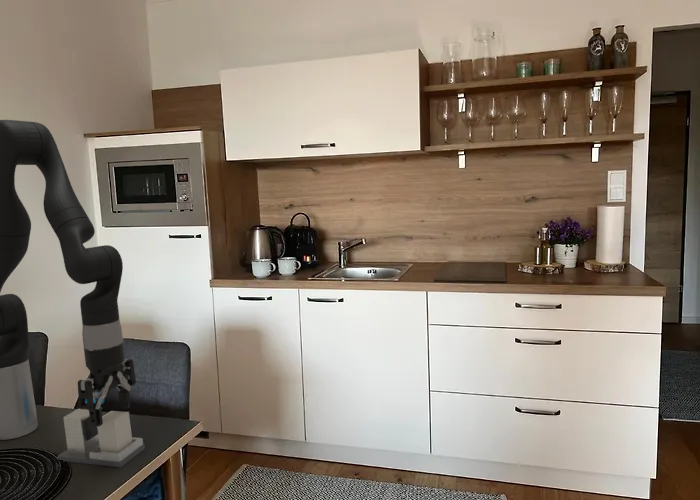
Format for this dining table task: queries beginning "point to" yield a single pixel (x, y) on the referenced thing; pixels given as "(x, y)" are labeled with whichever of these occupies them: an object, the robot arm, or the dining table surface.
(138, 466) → the dining table surface
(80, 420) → the base with upright block
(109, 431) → the block
